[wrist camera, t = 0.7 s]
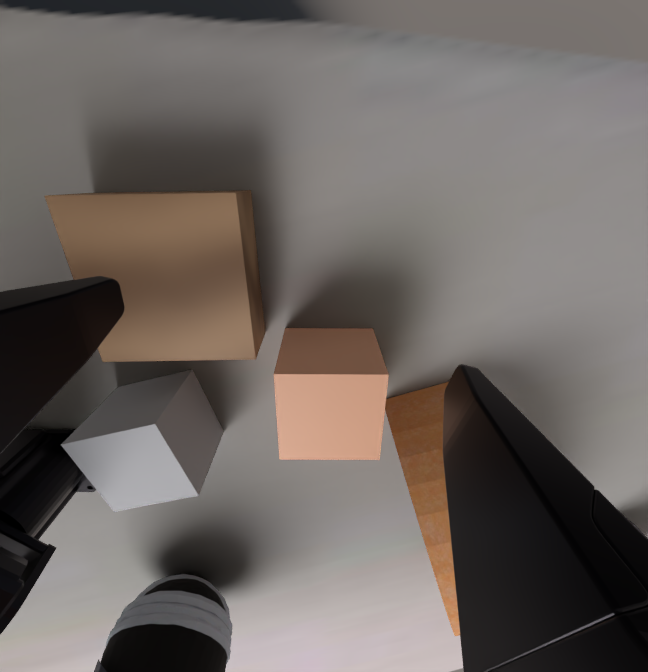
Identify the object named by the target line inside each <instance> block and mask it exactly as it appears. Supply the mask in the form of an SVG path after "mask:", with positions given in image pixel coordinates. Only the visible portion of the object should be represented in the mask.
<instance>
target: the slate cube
mask: <svg viewBox="0 0 648 672" xmlns="http://www.w3.org/2000/svg"><path fill="white" fill-rule="evenodd" d="M223 432H224V431H223V429H222V427H221V425H220V423H219V421H218V419H217V417H216V415H215V413H214V411H213V409H212V407H211V405H210V403H209V401H208V399H207V397H206V395H205V393H204V391H203V389H202V387H201V385H200V383H199V381H198V379H197V377H196V375H195V373H194V371H193V369H192V370H188V371H184V372H179V373H175V374H171V375H167V376H162V377H158V378H154V379H150V380H145V381H141V382H137V383H133V384H128V385H124V386H120V387H117V388H116V389H115V390H114V391H113V392H112V393H111V394H110V395H109V396H108V397H107V398H106V399H105V400H104V402H103V403H102V404H101V405H100V406H99V407H98V408H97V409H96V410H95V411H94V412H93V413H92V414H91V415H90V416H89V417H88V418H87V419H86V420H85V421H84V422H83V423H82V424H81V425H80V426H79V427H78V428H77V429H76V430H75V431H74V432H73V433H72V434H71V435H70V436H69V437H68V438H67V439H66V440H65V441H64V442H63V443H62V444H61V446H62V447H63V448H64V450H65V451H66V452H67V453H68V455H69V456H70V457H71V458H72V460H73V461H74V462H75V463H76V465H77V466H78V467H79V468H80V470H81V471H82V472H83V473H84V475H85V476H86V477H87V479H88V480H89V481H90V482H91V484H92V485H93V486H94V487H95V489H96V490H97V491H98V492H99V494H100V495H101V496H102V497H103V499H104V500H105V501H106V502H107V504H108V505H109V506H110V508H111V509H112V510H113V511H114V512H116V511H121V510H127V509H132V508H137V507H142V506H147V505H153V504H158V503H163V502H168V501H173V500H178V499H184V498H189V497H194V496H199V493H200V491H201V488H202V486H203V483H204V481H205V478H206V476H207V473H208V470H209V468H210V465H211V463H212V460H213V458H214V455H215V453H216V450H217V447H218V445H219V442H220V440H221V437H222V435H223Z"/></svg>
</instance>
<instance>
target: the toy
mask: <svg viewBox="0 0 648 672" xmlns="http://www.w3.org/2000/svg"><path fill="white" fill-rule="evenodd" d="M231 635H232V623H231V621H230V616H229V608H228V606H227V604H226V601H225V599H224V598H223V596H222V595H221V593H220V592H219V590H217V589H216V588H215V587H214V586H213V585H212V584H211V583H210V582H209V581H207V580H204V579H202V578H200V577H197V576H194V575H187V574H180V575H173V576H167V577H165V578H162V579H160V580H157V581H155V582H153V583H152V584H151V585H150V586H148V587H147V588H146V589H145V590H144V591H143V592H142V593H140V594H139V595H138V597H137V598H136V599H135V600H134V601H133V602H132V603H130V604H129V605H128V606H127V607H125V609H124V610H123V612H122V614H121V617H120V618H119V619H118V620H117V622H116V624H115V627H114V628H113V629H112V631H111V632H110V634H109V637H108V639H107V643H106V648H105V651H104V653H103V656H102V660H101V663H100V661H99V659H98V662H97V665H96V668H95V670H94V672H225V668H226V664H227V662H228V660H229V658H230V652H231V651H230V645H231Z"/></svg>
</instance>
